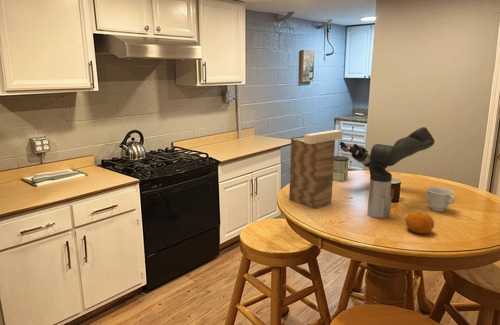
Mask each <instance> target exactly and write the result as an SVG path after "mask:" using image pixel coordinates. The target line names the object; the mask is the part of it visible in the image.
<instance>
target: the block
mask: <svg viewBox="0 0 500 325" xmlns="http://www.w3.org/2000/svg"><path fill="white" fill-rule="evenodd" d="M343 132H344V131H343V130H339V129H334V130H333V129H332V130H327V131H320V132H313V133H307V134H304V135H303V136H304V143H307V144H314V143H316V142H322V141H328V140H335V141H336V140H342V139H343Z"/></svg>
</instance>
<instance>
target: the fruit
mask: <svg viewBox="0 0 500 325" xmlns="http://www.w3.org/2000/svg"><path fill="white" fill-rule="evenodd" d="M405 224H406V226H407V228H408V229H409V230H410V231H411V232H413V233H416V234H419V235H420V234H428V233H430V232H431V231H432V230H433V229H434V228H435V221H434V219H433V217H432V216H431V215H429V214H428V213H425V212H410V213H409V214H408V215H407V216H406V219H405Z"/></svg>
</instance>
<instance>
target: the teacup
mask: <svg viewBox="0 0 500 325" xmlns="http://www.w3.org/2000/svg"><path fill="white" fill-rule="evenodd" d="M425 189H426V192H427V193H426V194H427V204H428V206H429V207H430V210H431V211H434V212H437V213H438V212H439V213H441V212H445V209H447V208H448V207H449V205H453V204H454V203H455V201H456V197H455V196H454V195H453V194H455V191H454V190H453V189H451V188H447V187H445V186H444V187H442V186H428V187H426V188H425Z"/></svg>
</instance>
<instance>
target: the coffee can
mask: <svg viewBox="0 0 500 325" xmlns="http://www.w3.org/2000/svg"><path fill="white" fill-rule="evenodd" d="M349 160H350V158H349V157H348V156H344V155H342V156H341V155H334V167H333V182H341V183H343V182H347V181H348V175H349V174H348V172H349Z"/></svg>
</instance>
